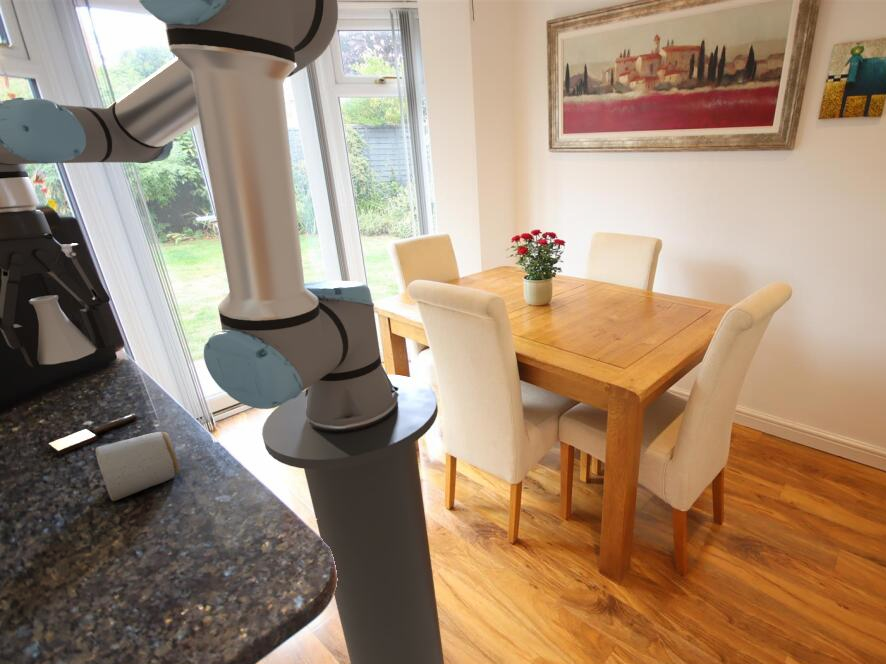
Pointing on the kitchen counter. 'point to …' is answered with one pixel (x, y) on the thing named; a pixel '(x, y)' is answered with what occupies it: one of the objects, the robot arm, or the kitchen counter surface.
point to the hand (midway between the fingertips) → (68, 355)
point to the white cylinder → (137, 464)
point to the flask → (58, 334)
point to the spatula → (86, 436)
